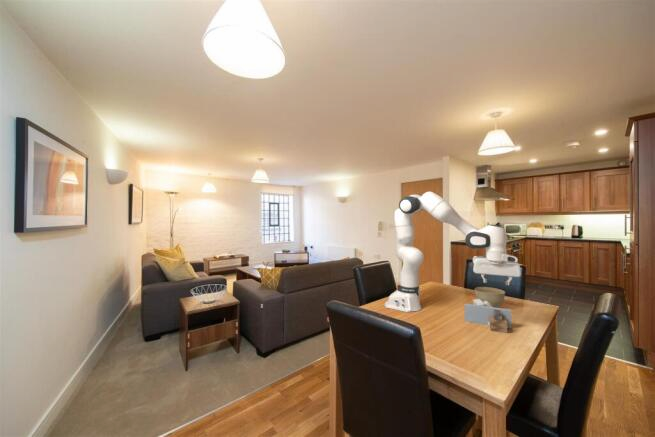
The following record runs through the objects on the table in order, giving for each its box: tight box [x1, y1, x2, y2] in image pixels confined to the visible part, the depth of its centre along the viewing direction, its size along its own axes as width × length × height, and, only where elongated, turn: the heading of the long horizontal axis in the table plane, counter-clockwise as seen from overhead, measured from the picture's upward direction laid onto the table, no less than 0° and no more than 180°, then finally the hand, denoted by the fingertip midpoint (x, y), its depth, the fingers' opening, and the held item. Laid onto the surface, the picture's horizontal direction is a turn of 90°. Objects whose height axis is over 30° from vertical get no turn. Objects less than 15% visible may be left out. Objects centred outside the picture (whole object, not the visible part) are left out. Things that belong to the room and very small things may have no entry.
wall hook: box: [472, 298, 492, 307], centre depth 148 cm, size 8×10×10 cm
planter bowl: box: [474, 286, 506, 308], centre depth 161 cm, size 16×16×11 cm
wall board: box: [464, 303, 512, 329], centre depth 136 cm, size 21×4×9 cm, turn 62°
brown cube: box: [489, 310, 508, 334], centre depth 130 cm, size 7×7×9 cm
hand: (496, 283), depth 130 cm, fingers open, 8 cm apart
